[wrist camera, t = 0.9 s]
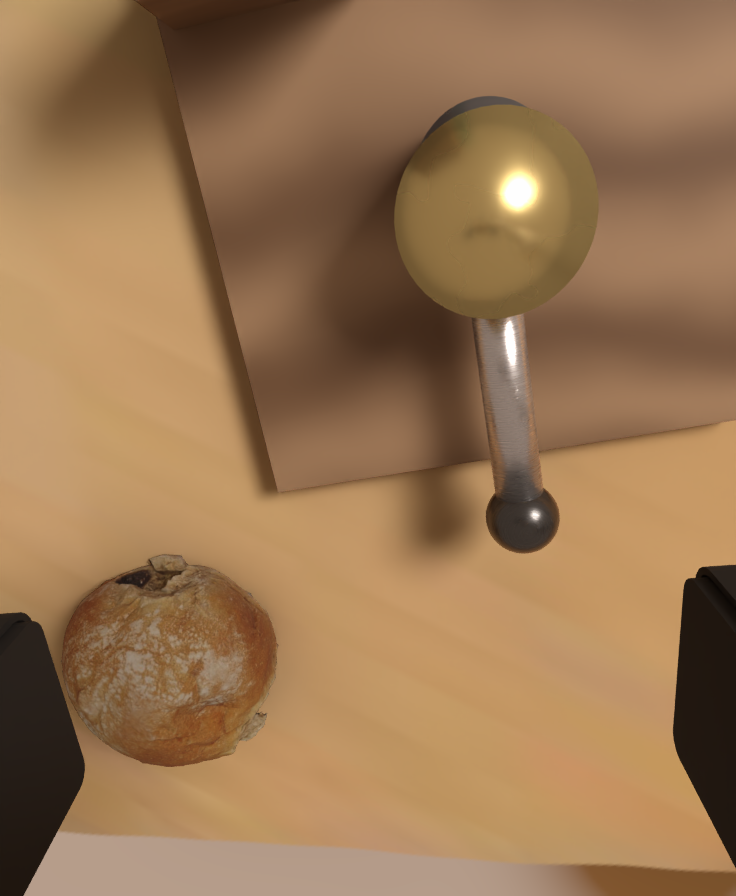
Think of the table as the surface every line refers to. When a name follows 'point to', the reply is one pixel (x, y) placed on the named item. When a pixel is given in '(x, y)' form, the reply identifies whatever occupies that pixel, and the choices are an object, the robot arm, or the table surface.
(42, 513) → the table surface
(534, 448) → the lever
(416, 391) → the stand
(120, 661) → the bread roll
